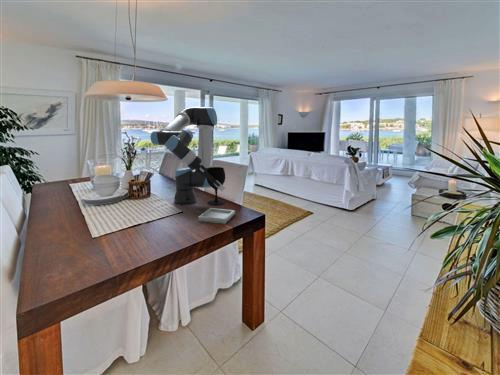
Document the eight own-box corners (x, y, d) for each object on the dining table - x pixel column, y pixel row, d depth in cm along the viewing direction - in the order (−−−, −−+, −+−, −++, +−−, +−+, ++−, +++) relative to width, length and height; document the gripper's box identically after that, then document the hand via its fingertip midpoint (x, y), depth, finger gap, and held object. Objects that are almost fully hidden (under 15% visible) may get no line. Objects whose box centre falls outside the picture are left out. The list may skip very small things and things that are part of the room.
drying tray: (210, 211, 153) (210, 207, 153) (234, 214, 149) (234, 210, 148) (198, 220, 138) (198, 216, 138) (225, 224, 134) (225, 219, 133)
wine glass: (227, 200, 145) (226, 167, 141) (223, 206, 135) (223, 170, 131) (209, 200, 146) (208, 166, 142) (204, 205, 136) (203, 169, 132)
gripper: (185, 162, 141) (213, 187, 150) (188, 169, 120) (220, 197, 129) (194, 153, 142) (221, 178, 150) (199, 157, 121) (230, 186, 129)
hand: (221, 187), depth 140 cm, fingers closed on wine glass, 10 cm apart
